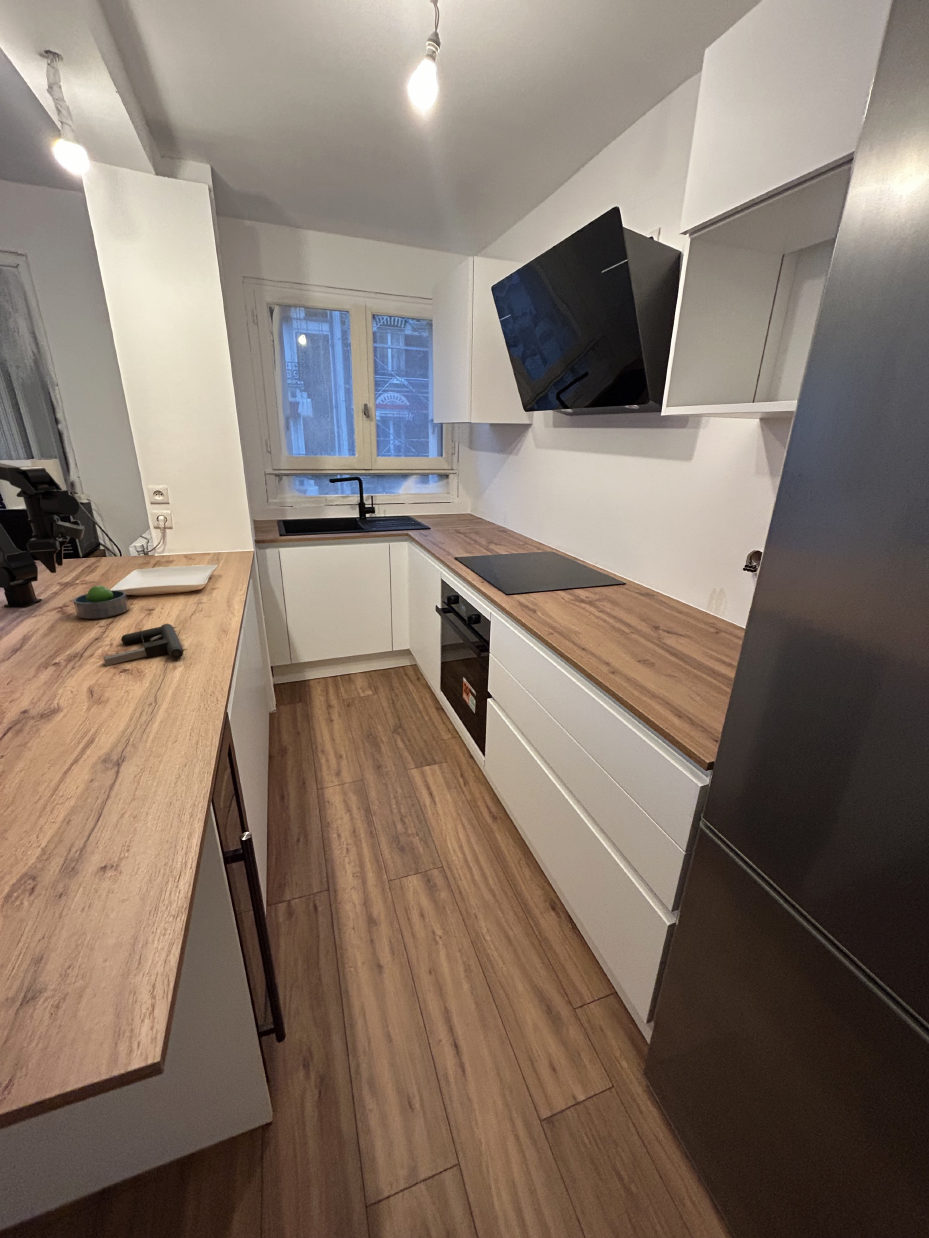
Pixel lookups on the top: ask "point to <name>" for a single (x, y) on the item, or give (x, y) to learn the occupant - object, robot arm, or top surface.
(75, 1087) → the top surface
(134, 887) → the top surface
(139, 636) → the door handle
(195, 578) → the square plate
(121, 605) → the bowl
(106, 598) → the broccoli
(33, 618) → the top surface
